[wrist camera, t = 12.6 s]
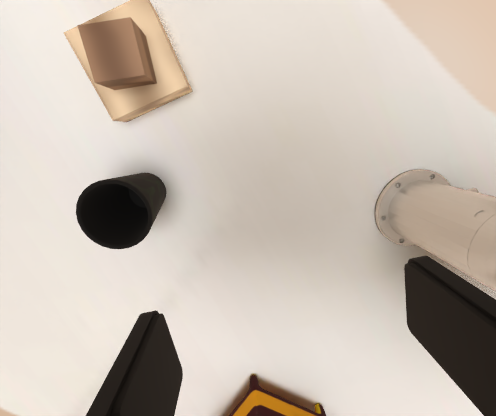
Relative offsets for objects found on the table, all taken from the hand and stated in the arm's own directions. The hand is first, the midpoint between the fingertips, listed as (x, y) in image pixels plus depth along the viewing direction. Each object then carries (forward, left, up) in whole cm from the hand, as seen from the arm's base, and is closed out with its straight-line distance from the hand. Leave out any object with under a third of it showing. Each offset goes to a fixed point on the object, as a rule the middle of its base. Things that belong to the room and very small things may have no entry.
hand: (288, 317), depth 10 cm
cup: (+14, -2, -31) cm, 34 cm away
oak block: (+9, -17, -32) cm, 37 cm away
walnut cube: (+9, -17, -27) cm, 33 cm away
